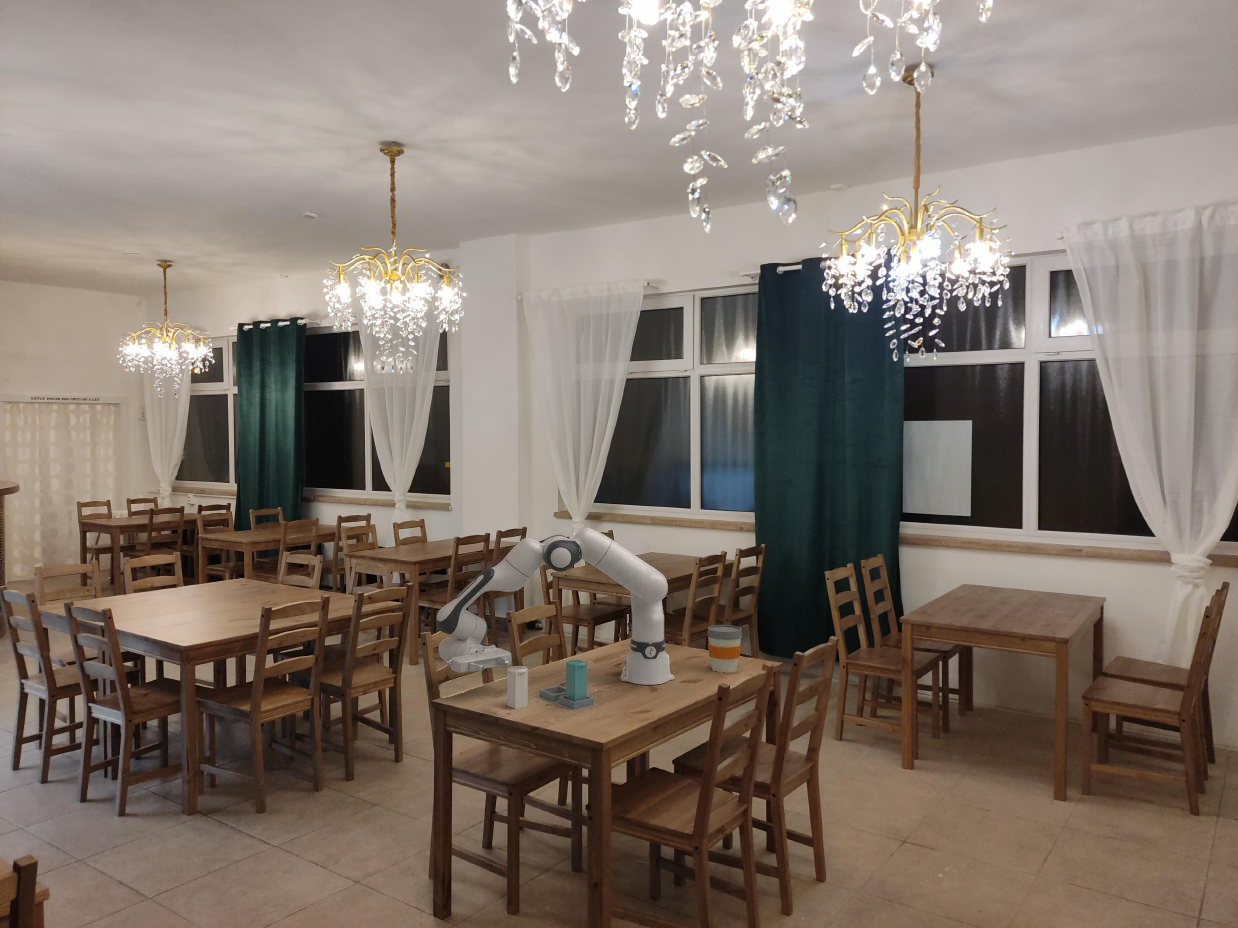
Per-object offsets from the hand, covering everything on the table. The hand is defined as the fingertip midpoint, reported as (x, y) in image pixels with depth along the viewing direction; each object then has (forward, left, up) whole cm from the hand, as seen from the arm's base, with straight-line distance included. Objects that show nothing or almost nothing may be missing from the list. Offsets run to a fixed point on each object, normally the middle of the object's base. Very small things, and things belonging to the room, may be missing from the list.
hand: (494, 666), depth 277 cm
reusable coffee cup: (-31, +82, -11) cm, 89 cm away
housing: (+6, +22, -11) cm, 26 cm away
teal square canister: (+10, +25, -10) cm, 29 cm away
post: (+10, +7, -11) cm, 17 cm away
